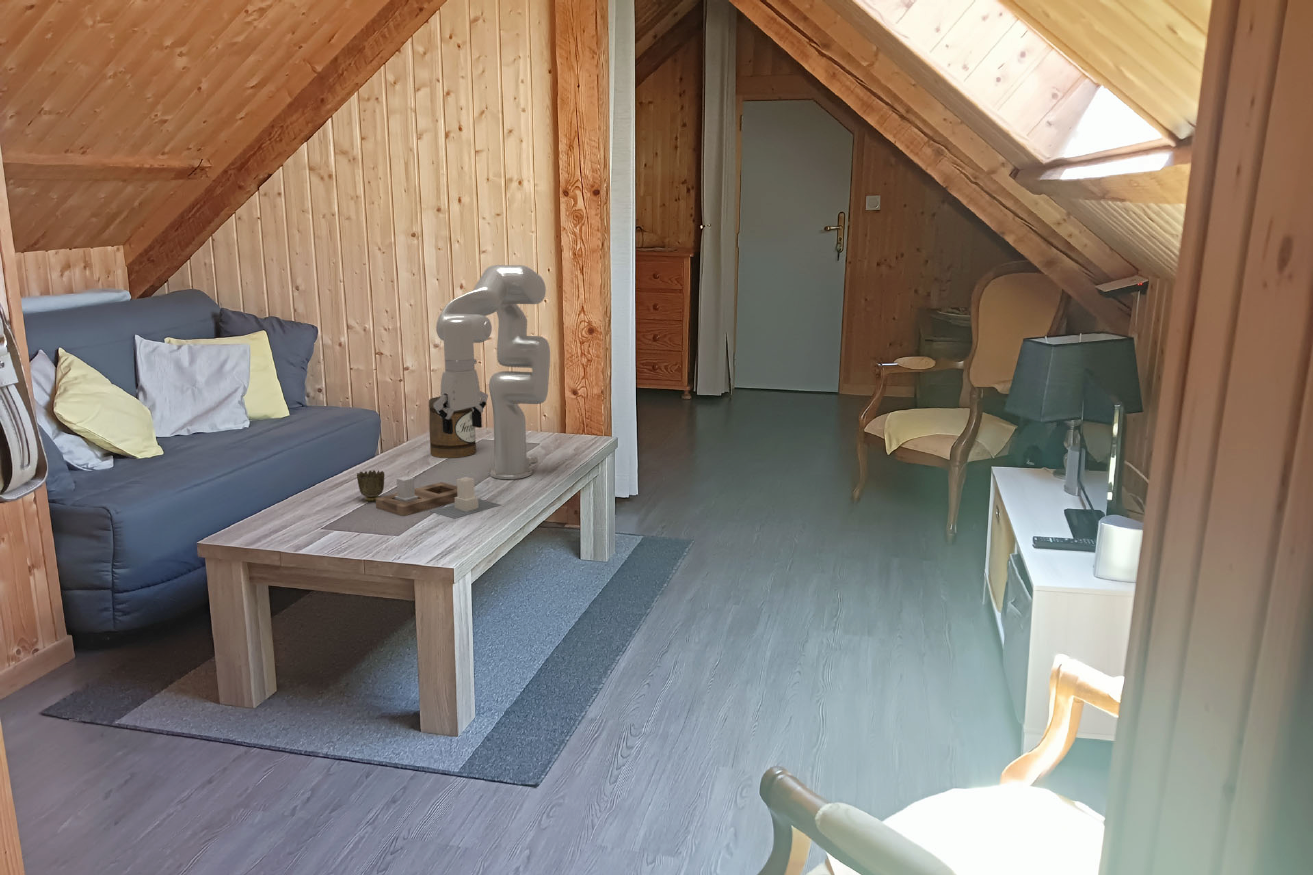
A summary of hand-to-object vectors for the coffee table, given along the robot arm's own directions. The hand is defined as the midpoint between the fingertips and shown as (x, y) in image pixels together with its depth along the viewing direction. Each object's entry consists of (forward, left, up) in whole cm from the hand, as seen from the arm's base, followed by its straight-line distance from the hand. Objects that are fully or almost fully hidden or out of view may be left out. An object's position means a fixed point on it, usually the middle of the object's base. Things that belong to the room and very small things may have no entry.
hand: (462, 430), depth 261 cm
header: (+4, -13, -22) cm, 26 cm away
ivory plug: (0, 0, -21) cm, 21 cm away
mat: (0, 0, -22) cm, 22 cm away
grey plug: (+10, -13, -21) cm, 27 cm away
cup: (+11, -26, -22) cm, 36 cm away
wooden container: (-40, -54, -22) cm, 71 cm away
